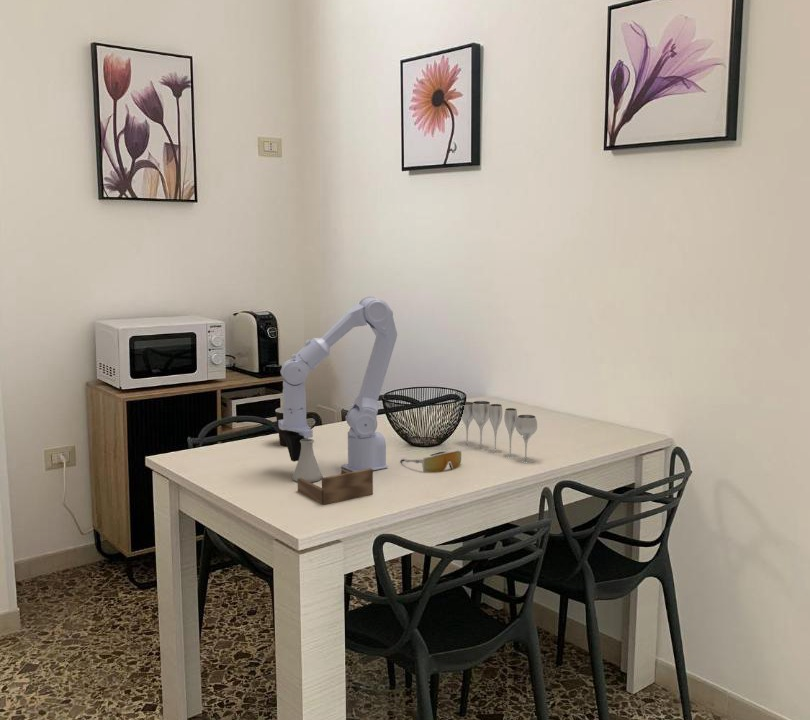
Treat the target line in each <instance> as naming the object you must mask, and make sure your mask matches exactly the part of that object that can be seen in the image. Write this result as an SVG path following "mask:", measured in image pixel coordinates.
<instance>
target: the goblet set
mask: <svg viewBox="0 0 810 720" xmlns="http://www.w3.org/2000/svg"><path fill="white" fill-rule="evenodd" d="M464 402H465V405H463V406H464V410H463V414H462V417H460V419H461V420H462V422H463V424H464V426H465V435H466V437H465V438H466V441H461V442H459V443H458V444H459V445H460V446H465V447H466V446H469V447H470V446H472V449H474V450H477V451H478V450H479V451H482V450H488V454H489V453H490V454H494V455H495V454H496V455H497V454H502V453H503V451H502V450H500V449H497V434H498V429H499V427H500V424H501V423H502V419H504V424H505V428H506V430H507V432H508V436H509V453H504V454H503V455H502V456H503V457H504V458H509V459H511V458H512V459H513V458H514V459H515V458H517V457H518V455H517V454H514V453H512V437H513V433H514V430H516V431H517V434H519V435H520V437H522V439H523V441H524V442H523V443H524V450H525V451H524V457H518V458H517V459H516V460H517V462H519V463H524V464H525V463H526V464H527V463H528V464H529V463H534V462H535V459H534V458H531V457H527V450H528V442H529V439H530V438H531V437H532V436H533V435H534V434H536V432H537V429H538V421H537V418H536V416H535V415H534V414H533V415H532V414H519V415H518V409H516V408H514V407H513V408H512V407H508V408H507V407H506V408H505V409H504V414H503V405H502V404H499V403H492V404H491V403H490V402H489V401H487V400H476V401H473V402H472V401H464ZM503 415H504V418H503ZM473 420H474V421H475V423H476V425H477V426H478V428H479V439H480V440H479V444H478V445H475V442H473V441H469V439H468V438H469V436H468V435H469V427H470V425H471V423H472V421H473ZM488 421H489V422H490V425H491V426H492V429H493V433H494V449H490V447H489V446H487V445H482V444H483V443H482V441H483V440H482V439H483V429H484V427H485V425H486V423H487V422H488ZM489 449H490V450H489Z"/></svg>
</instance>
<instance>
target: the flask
mask: <svg viewBox="0 0 810 720" xmlns="http://www.w3.org/2000/svg"><path fill="white" fill-rule="evenodd" d="M300 443H301V452H300V457H299V460H298V461H297V463H296V467H295V469H294V471H293V474H292V477H291V479H292V480H293V481H295V482H297V479H298V478H302V479H304V480H306V481H308V482H310V483H314V482H319V481H320V480H322V478H324V477H323V474H322V471H321V469H320V467H319V464H318V462H317V459H316V456H315V453H314V448H313V443H315V440H314V439H312V438H306V439H301V440H300Z"/></svg>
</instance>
